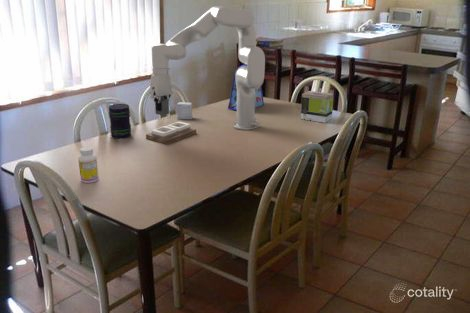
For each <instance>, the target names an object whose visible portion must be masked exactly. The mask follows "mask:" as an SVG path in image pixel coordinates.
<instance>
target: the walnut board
mask: <svg viewBox="0 0 470 313" xmlns="http://www.w3.org/2000/svg"><path fill="white" fill-rule="evenodd" d="M196 134H197V129H196V128H192V127H190V129H189V130H186V131H183V132H180V133H177V134H175V135H172V136H169V137H166V138H160V137H156V136H153V135H152V132H149V133H147V134H145V139H146V140H147V139H148V140H150V141H155V142H158V143H161V144H165V145H168V144H172V143H174V142H177V141H179V140H182V139H185V138H188V137H191V136H192V135H196Z"/></svg>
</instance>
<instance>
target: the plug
mask: <svg viewBox="0 0 470 313" xmlns="http://www.w3.org/2000/svg"><path fill="white" fill-rule="evenodd" d="M169 101H170V99H169V100H168V99H164V96H161V99H160V103H161V111H157V110H156V102H154V105H155V106H154V108H155V110H154V111H155V115H158V116H159V115H160V116H167V115H169V114H170V103H169Z"/></svg>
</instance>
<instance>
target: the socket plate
mask: <svg viewBox="0 0 470 313" xmlns="http://www.w3.org/2000/svg"><path fill="white" fill-rule="evenodd" d="M190 128H191V123H188V122H184V121H180V120H179V121H176V122H173V123H170V124H167V125H166V126H165V125H164V126H160V127H157V128H154V129H152V130H151V133H152V135H153V136H156V137H160V138H166V137H169V136H172V135H175V134H177V133H180V132H183V131H186V130H189V129H190Z"/></svg>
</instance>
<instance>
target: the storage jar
mask: <svg viewBox="0 0 470 313" xmlns="http://www.w3.org/2000/svg"><path fill="white" fill-rule="evenodd" d="M130 113H131V112H130V105H129V104H127V103H115V104H111V105H109V106H108V117H109V119H110V120H109V122H110V129H109V130H110V135H111V136H112V137H113V139H116V138H118V139H117V140H119V139H120V138H121V139H120V140H122V138H123V139H127V138H130V137H131V136H132V127H131V126H132V125H131V121H130V116H131V114H130ZM112 137H111V138H112Z"/></svg>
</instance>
